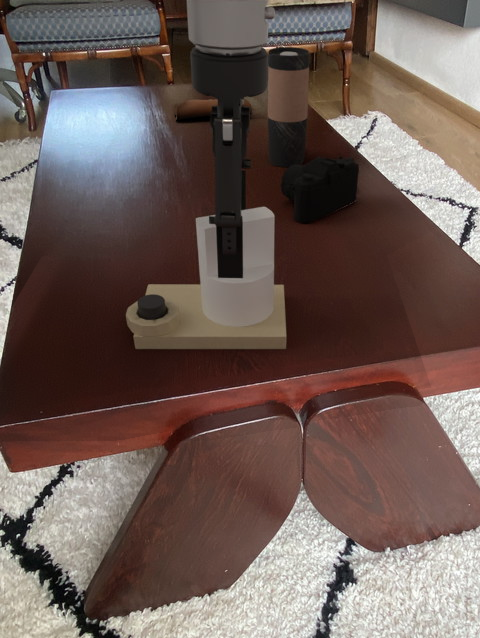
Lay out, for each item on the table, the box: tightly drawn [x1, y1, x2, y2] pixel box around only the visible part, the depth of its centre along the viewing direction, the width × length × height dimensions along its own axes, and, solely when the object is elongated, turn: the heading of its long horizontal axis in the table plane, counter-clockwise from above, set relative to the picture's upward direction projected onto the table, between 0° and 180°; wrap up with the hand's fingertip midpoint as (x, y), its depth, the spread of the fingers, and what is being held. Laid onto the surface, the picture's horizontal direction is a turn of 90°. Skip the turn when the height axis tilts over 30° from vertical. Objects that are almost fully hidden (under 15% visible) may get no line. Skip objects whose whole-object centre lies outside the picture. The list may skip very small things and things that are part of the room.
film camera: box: [280, 155, 360, 224], centre depth 103 cm, size 15×10×9 cm, turn 135°
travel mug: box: [267, 46, 310, 168], centre depth 117 cm, size 8×8×20 cm
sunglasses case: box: [174, 98, 253, 121], centre depth 145 cm, size 18×7×7 cm, turn 105°
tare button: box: [136, 294, 166, 320], centre depth 72 cm, size 3×3×2 cm
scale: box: [125, 283, 287, 350], centre depth 76 cm, size 19×12×4 cm, turn 91°
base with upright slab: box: [195, 206, 276, 327], centre depth 73 cm, size 9×9×12 cm
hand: (233, 247), depth 72 cm, fingers open, 13 cm apart
